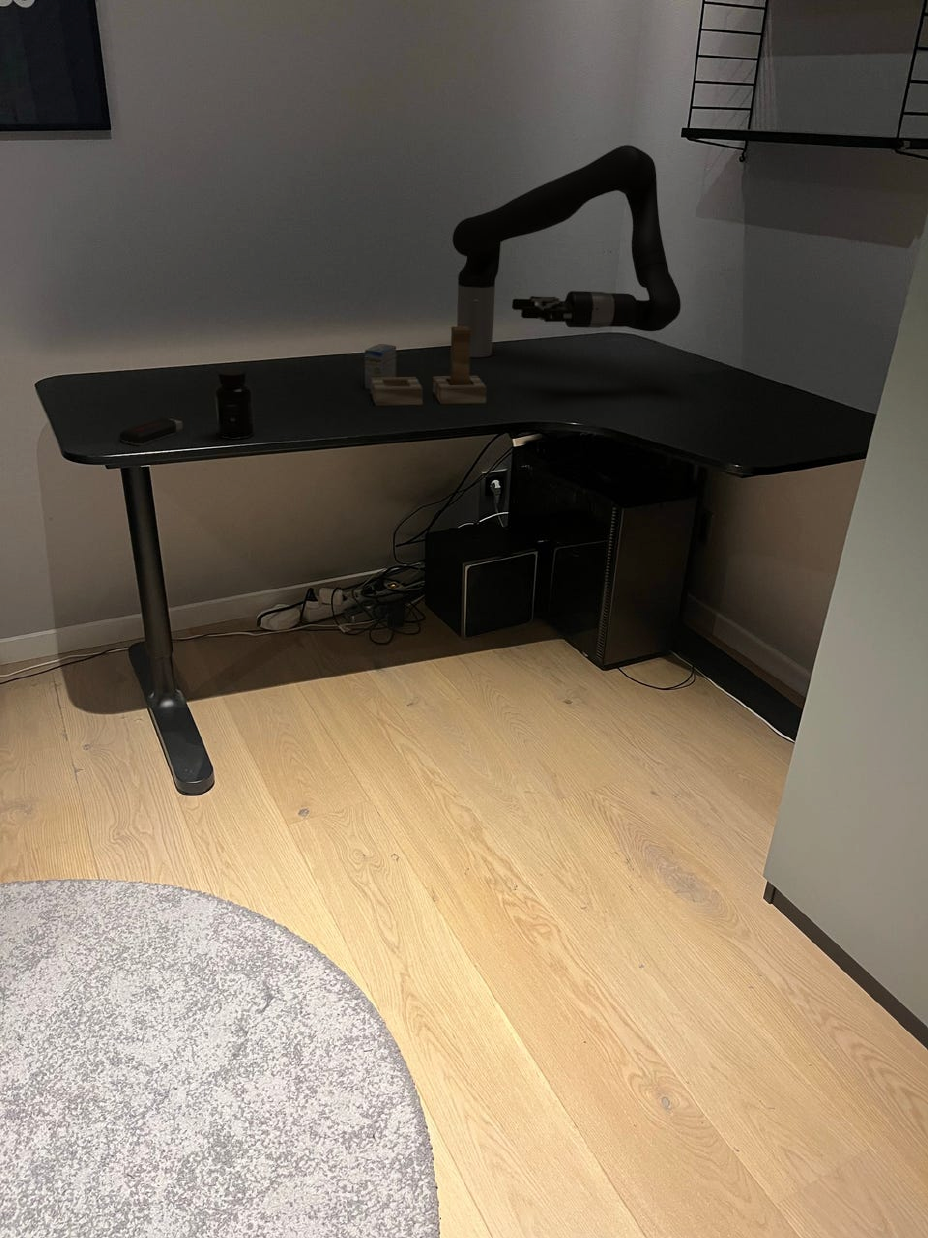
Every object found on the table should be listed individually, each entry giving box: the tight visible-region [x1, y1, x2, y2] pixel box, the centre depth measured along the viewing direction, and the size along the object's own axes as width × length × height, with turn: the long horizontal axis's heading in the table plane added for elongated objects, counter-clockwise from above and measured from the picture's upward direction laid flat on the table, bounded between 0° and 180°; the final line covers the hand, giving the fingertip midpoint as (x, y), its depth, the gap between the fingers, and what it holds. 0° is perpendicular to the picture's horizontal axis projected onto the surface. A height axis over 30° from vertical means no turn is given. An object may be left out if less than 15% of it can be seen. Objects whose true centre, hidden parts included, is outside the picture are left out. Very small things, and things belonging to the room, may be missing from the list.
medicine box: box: [364, 343, 397, 390], centre depth 221 cm, size 8×4×9 cm, turn 160°
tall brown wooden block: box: [449, 326, 471, 385], centre depth 212 cm, size 4×4×14 cm
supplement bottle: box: [214, 368, 256, 438], centre depth 185 cm, size 7×7×12 cm
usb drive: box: [118, 417, 184, 443], centre depth 185 cm, size 5×12×3 cm, turn 150°
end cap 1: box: [370, 376, 424, 407], centre depth 212 cm, size 10×10×4 cm
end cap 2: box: [432, 375, 488, 405], centre depth 215 cm, size 10×10×4 cm
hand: (517, 308), depth 210 cm, fingers open, 8 cm apart
